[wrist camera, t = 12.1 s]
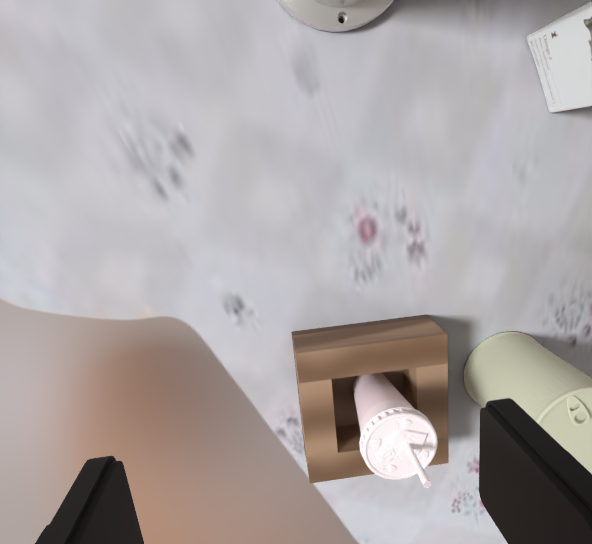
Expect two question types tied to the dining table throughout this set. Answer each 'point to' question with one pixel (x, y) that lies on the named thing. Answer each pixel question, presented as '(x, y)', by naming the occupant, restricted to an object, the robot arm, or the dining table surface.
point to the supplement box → (565, 59)
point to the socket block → (360, 361)
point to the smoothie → (392, 430)
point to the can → (535, 388)
